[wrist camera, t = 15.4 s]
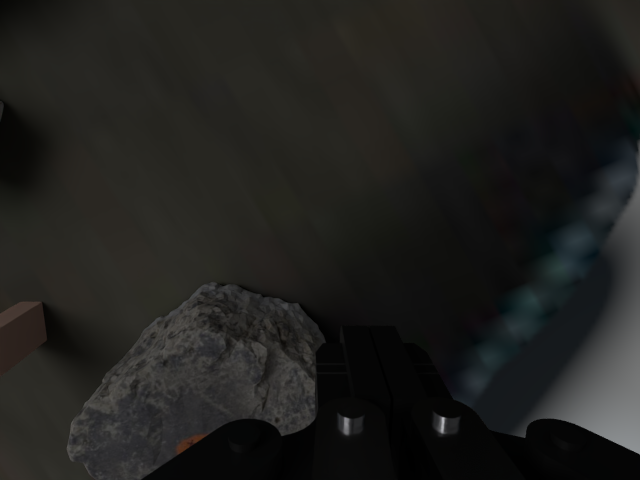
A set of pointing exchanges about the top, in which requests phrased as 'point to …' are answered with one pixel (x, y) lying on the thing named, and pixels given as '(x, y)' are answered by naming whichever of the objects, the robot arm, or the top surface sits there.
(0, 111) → the box
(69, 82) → the top surface
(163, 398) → the petrified wood
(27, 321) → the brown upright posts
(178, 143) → the top surface
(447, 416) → the robot arm
